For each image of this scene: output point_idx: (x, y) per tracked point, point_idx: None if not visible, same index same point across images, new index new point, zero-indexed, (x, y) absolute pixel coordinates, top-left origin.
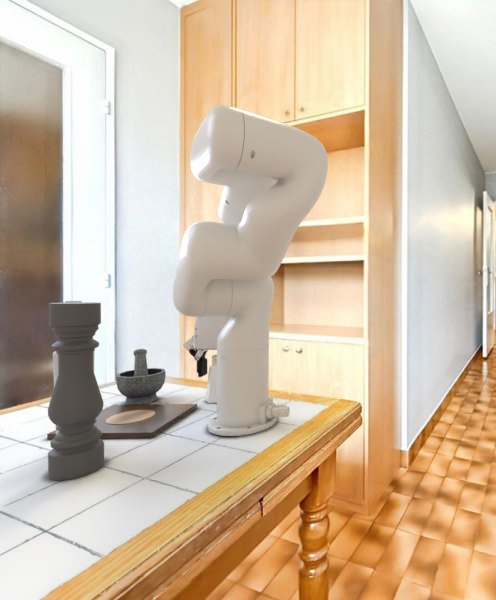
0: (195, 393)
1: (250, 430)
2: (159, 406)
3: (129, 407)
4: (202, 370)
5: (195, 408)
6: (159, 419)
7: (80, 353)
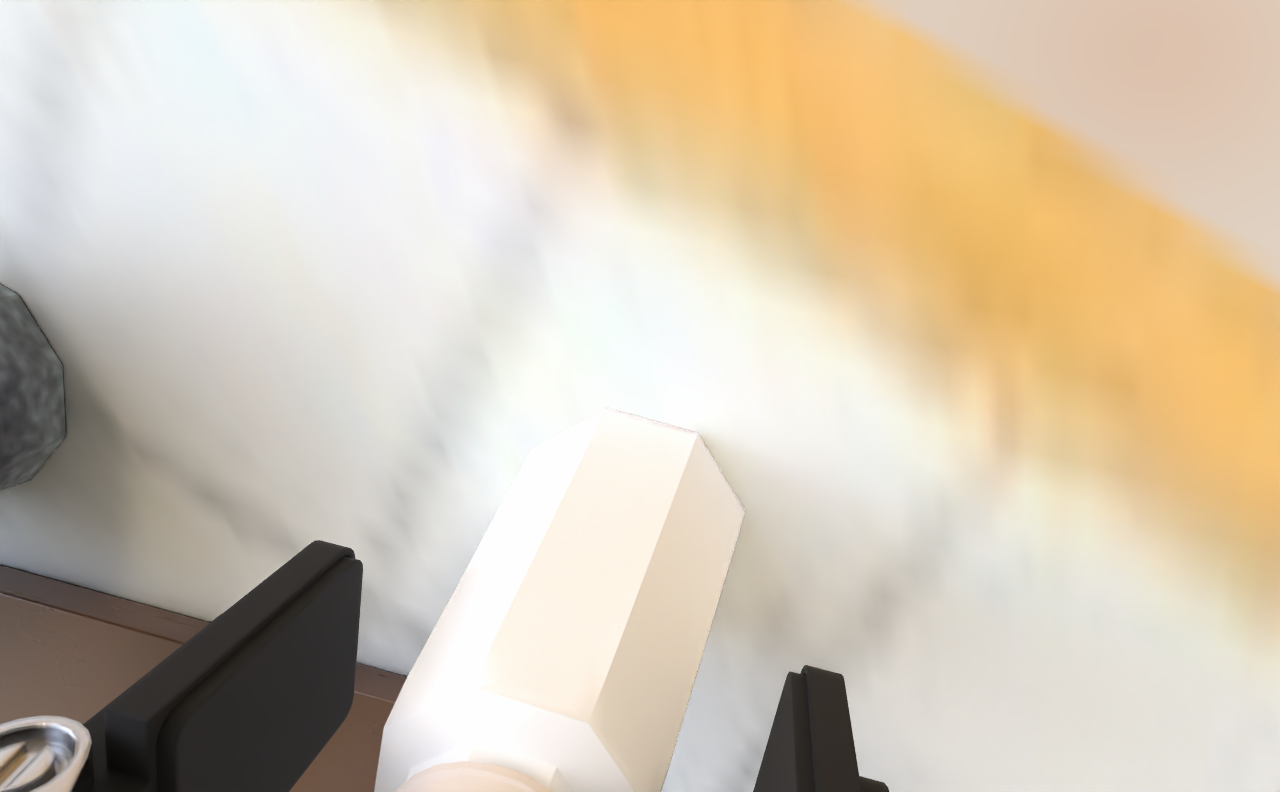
0: (313, 207)
1: None
2: None
3: (29, 667)
4: (301, 745)
5: None
6: None
7: None
